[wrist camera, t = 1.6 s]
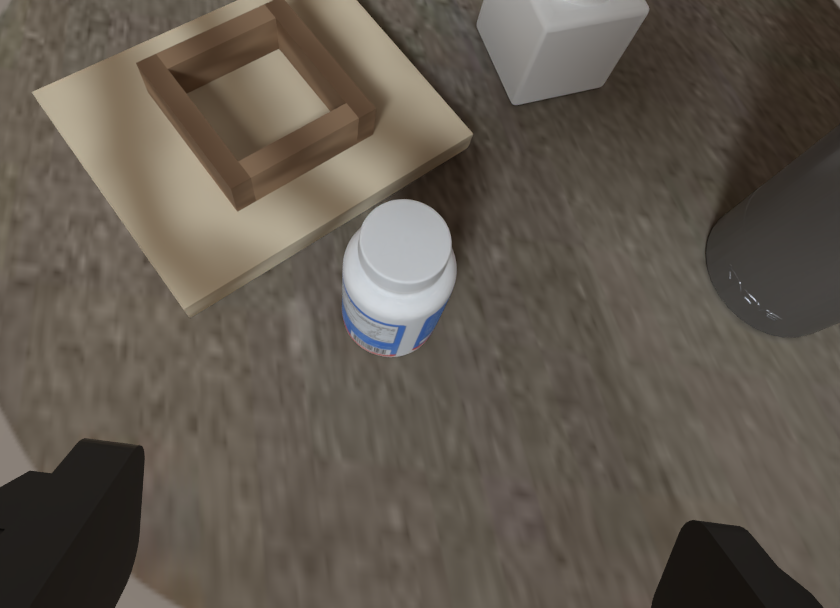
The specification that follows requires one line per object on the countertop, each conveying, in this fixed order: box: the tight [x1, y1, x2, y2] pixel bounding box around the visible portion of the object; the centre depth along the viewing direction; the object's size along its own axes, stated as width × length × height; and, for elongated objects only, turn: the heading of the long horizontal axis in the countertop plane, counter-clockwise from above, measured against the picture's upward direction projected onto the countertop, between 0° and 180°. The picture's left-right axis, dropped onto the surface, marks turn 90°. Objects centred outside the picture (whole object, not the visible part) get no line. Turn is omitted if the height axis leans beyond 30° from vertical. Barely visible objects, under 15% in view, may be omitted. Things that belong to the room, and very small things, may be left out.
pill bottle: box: [342, 199, 457, 357], centre depth 31 cm, size 6×5×10 cm
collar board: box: [32, 0, 473, 318], centre depth 37 cm, size 20×16×4 cm
